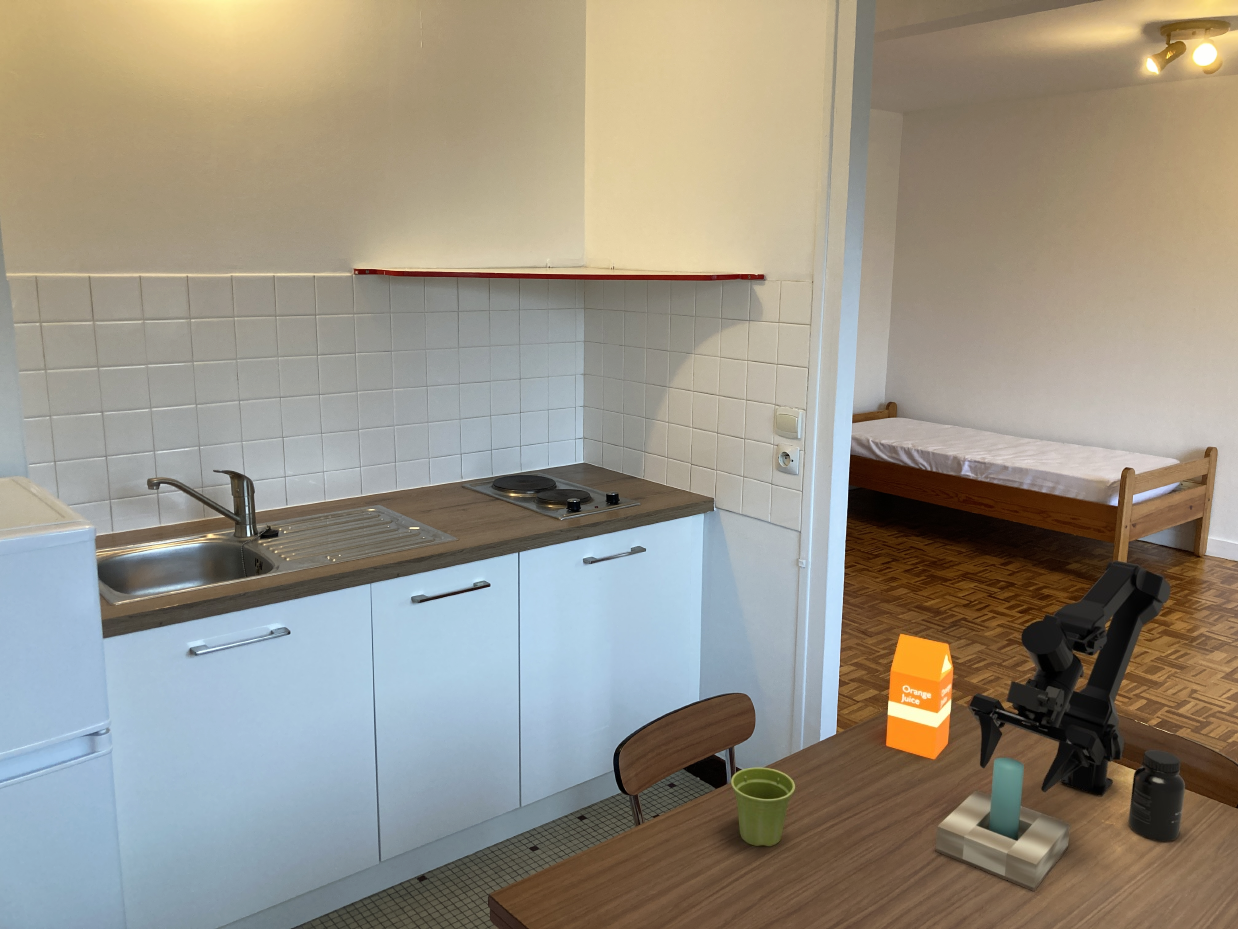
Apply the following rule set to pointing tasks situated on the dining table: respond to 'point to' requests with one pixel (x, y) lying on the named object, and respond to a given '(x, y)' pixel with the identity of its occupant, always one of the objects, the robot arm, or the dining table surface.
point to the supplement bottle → (1157, 797)
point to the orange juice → (920, 696)
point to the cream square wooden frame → (1003, 842)
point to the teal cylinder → (1006, 797)
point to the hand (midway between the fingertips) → (1011, 778)
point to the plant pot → (762, 804)
